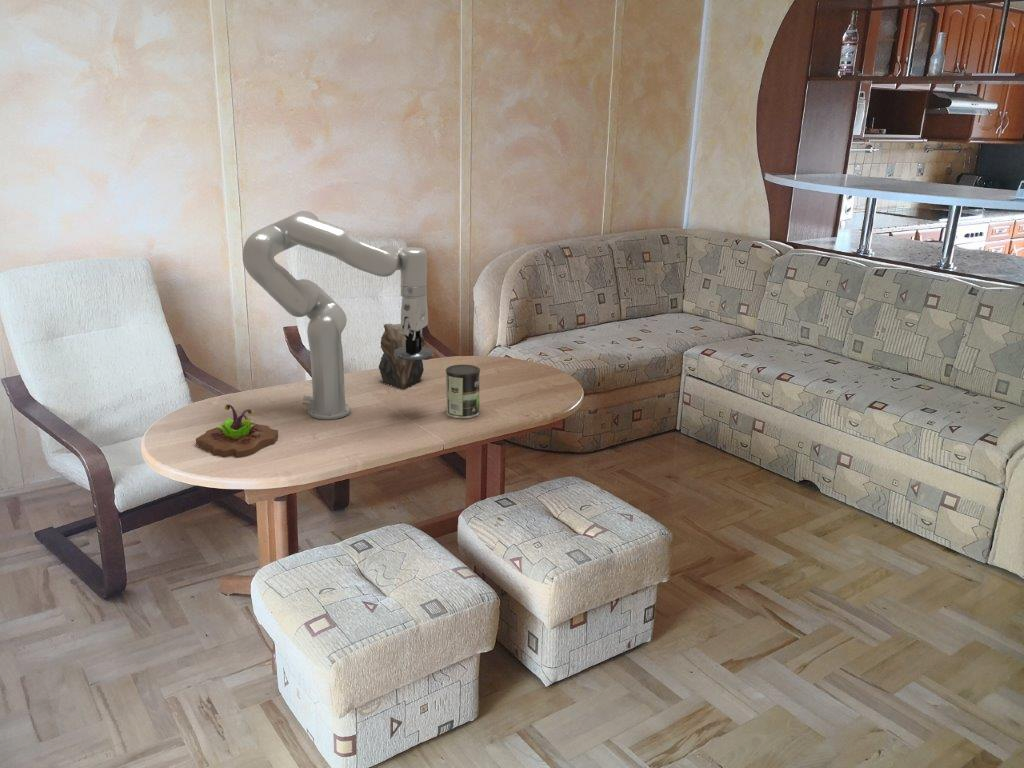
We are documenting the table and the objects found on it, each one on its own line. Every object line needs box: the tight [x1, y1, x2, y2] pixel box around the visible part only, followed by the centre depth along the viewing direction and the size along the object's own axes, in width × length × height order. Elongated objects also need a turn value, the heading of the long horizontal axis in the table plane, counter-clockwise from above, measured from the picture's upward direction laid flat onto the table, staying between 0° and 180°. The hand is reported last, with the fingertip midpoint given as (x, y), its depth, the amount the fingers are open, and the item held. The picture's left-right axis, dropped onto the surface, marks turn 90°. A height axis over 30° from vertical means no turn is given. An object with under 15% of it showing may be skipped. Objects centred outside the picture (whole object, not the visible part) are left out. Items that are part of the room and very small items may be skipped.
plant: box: [195, 404, 279, 458], centre depth 234 cm, size 20×20×11 cm
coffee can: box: [445, 364, 481, 419], centre depth 258 cm, size 10×10×14 cm
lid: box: [394, 337, 434, 361], centre depth 252 cm, size 12×12×5 cm
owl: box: [378, 323, 425, 391], centre depth 284 cm, size 13×13×20 cm
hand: (413, 350), depth 252 cm, fingers closed on lid, 3 cm apart
